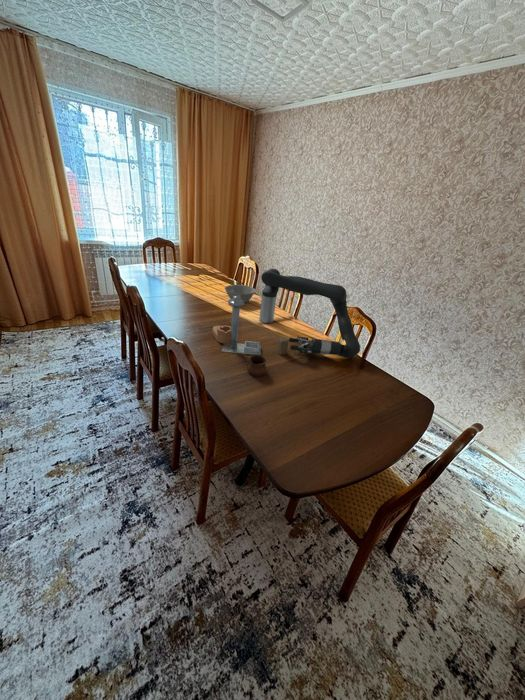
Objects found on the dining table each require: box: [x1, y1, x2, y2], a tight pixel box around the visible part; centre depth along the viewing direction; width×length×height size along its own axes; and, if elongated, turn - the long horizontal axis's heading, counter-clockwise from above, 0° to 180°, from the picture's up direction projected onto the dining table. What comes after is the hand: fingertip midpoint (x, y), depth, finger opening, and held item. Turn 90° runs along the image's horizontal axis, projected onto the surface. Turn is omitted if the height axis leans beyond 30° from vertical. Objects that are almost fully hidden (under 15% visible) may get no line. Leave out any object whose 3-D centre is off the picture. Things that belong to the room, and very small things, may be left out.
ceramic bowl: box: [224, 284, 256, 304], centre depth 211 cm, size 22×23×10 cm
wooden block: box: [276, 337, 289, 356], centre depth 149 cm, size 4×4×8 cm
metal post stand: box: [221, 296, 262, 356], centre depth 143 cm, size 10×20×28 cm, turn 90°
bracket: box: [212, 325, 231, 344], centre depth 158 cm, size 18×8×7 cm, turn 23°
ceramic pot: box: [238, 355, 268, 378], centre depth 131 cm, size 18×18×7 cm
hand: (289, 343), depth 148 cm, fingers open, 8 cm apart
